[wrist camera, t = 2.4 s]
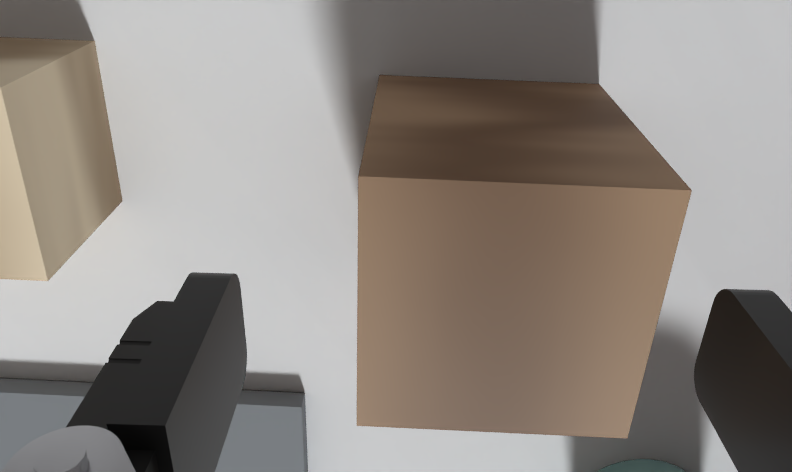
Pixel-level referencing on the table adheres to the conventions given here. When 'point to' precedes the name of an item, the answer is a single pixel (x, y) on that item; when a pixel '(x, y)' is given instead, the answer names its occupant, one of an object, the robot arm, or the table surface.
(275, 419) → the mat
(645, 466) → the teal cylinder
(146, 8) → the table surface
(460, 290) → the walnut block
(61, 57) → the beech block
